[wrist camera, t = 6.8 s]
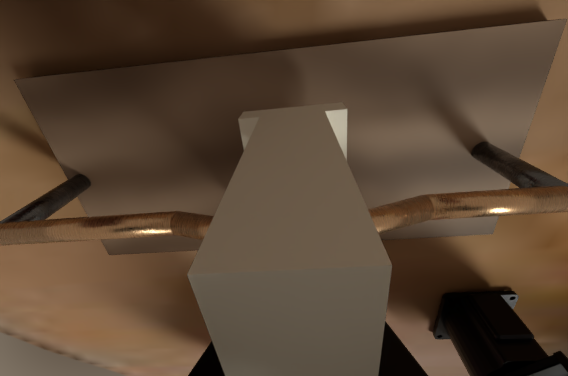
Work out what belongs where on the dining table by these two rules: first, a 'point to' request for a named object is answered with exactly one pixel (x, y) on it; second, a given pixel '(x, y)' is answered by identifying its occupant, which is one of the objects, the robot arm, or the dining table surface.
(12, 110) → the dining table surface
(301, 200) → the hollow square tube
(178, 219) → the bent copper wire
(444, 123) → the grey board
